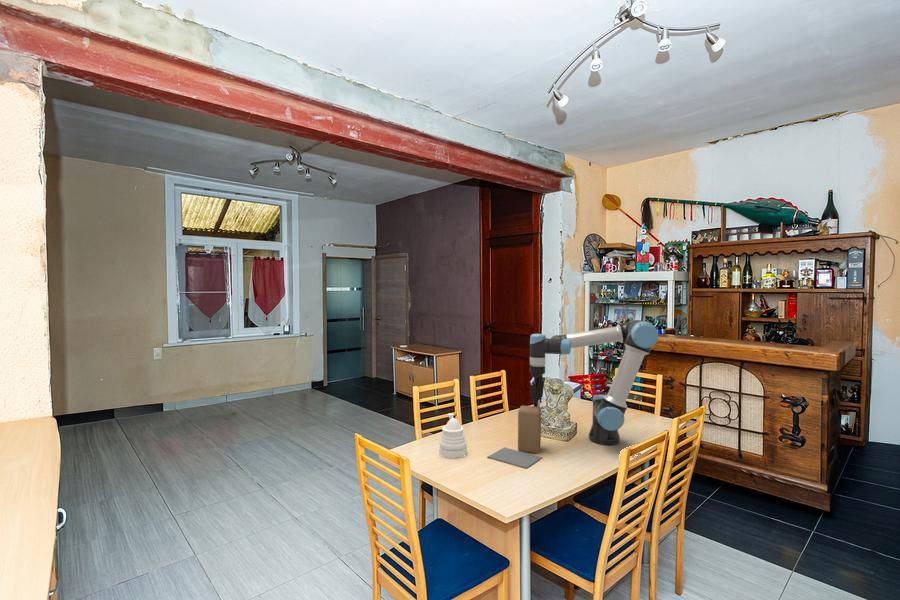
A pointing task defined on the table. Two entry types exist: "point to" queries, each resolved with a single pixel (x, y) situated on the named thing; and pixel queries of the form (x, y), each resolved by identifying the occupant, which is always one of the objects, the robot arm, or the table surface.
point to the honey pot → (453, 439)
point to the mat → (515, 457)
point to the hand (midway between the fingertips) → (536, 412)
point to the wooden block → (529, 429)
